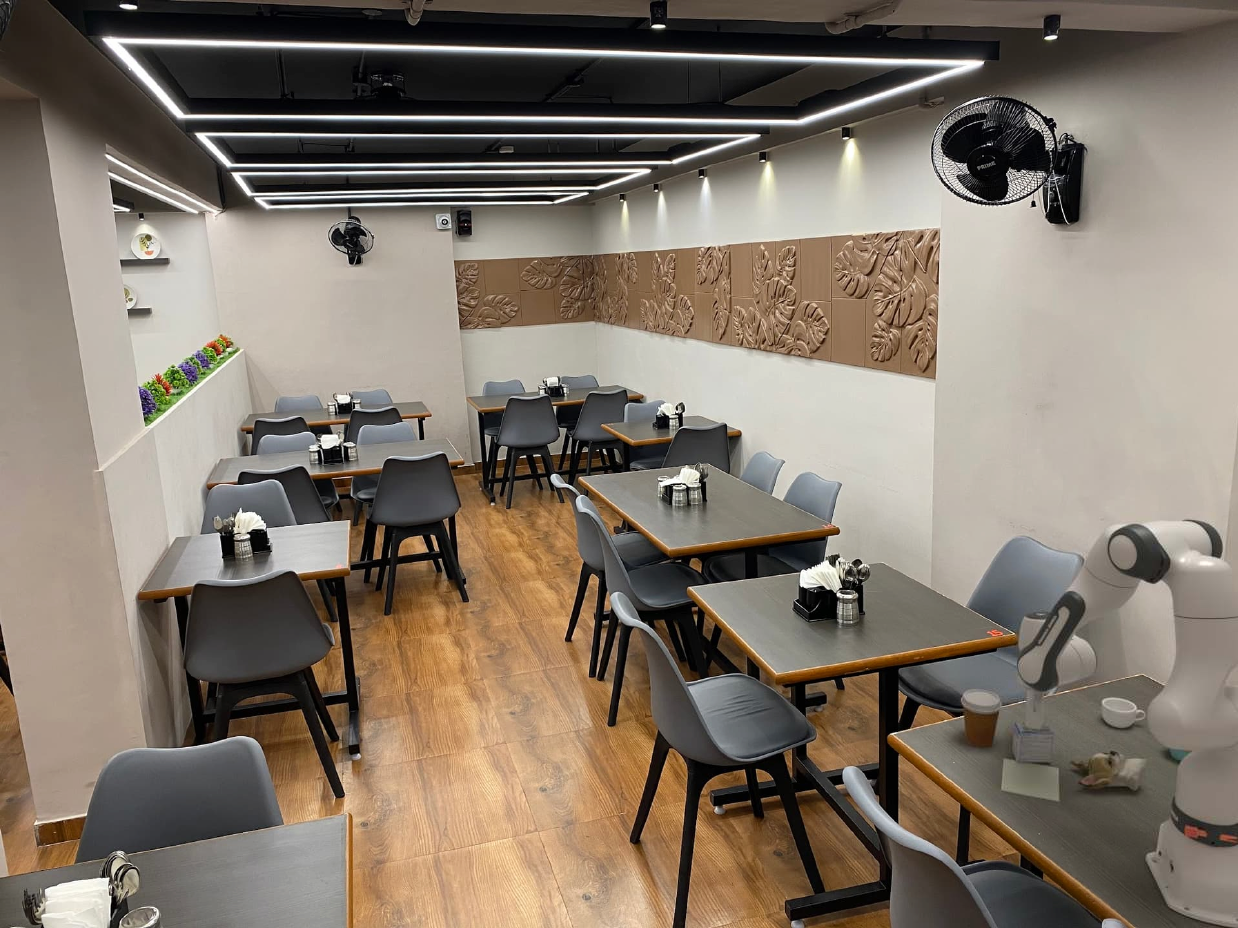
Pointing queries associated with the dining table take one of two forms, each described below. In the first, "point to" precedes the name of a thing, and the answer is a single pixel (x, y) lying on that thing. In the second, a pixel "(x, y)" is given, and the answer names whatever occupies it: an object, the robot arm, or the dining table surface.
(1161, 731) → the robot arm
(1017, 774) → the mat
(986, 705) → the disposable coffee cup
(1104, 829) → the dining table surface
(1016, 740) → the medicine box
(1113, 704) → the teacup
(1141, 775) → the ceramic sculpture
